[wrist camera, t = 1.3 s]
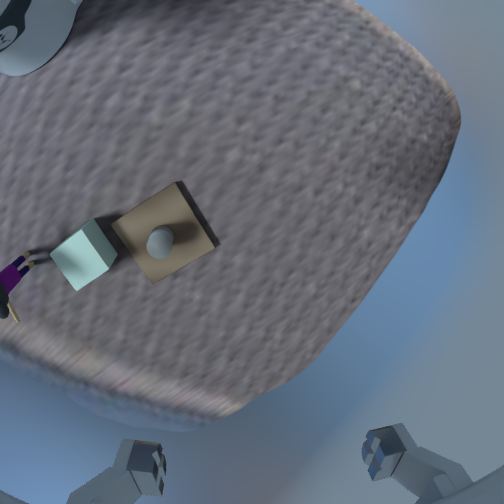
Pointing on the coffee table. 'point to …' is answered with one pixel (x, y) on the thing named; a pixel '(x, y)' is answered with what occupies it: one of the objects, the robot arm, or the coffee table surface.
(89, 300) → the coffee table surface
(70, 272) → the pale aqua cube
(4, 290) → the toy
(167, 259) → the stand
